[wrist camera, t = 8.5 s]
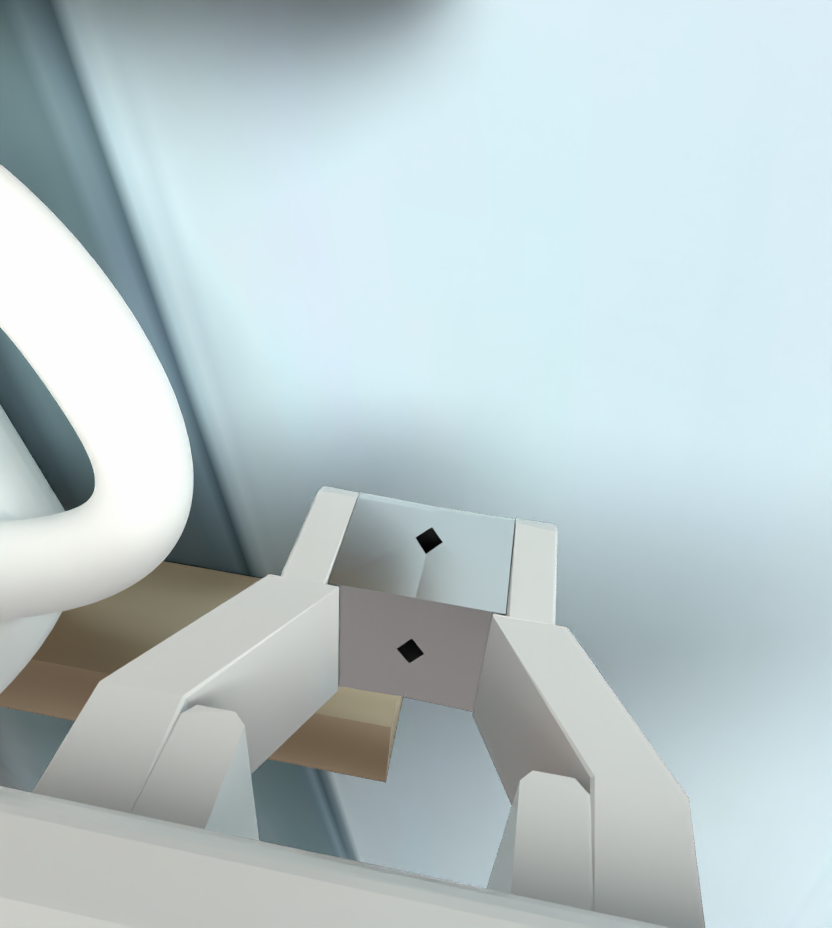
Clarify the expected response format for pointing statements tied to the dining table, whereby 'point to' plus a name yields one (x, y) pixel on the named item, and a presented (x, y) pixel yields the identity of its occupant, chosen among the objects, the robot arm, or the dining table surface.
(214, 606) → the guide channel
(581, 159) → the dining table surface
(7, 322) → the mug
